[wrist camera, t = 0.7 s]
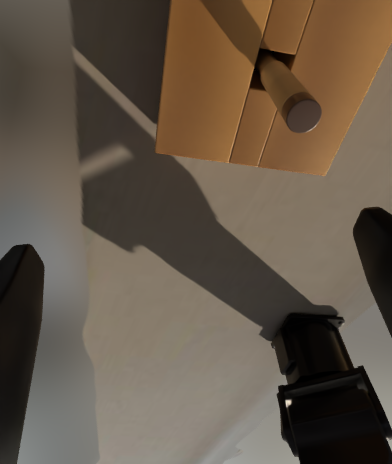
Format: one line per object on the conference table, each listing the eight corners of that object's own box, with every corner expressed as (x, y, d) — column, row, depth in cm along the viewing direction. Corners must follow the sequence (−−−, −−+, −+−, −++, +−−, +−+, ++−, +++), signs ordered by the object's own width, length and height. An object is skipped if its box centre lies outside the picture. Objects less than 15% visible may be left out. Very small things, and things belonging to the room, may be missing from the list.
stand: (391, -44, 16) (433, -40, 14) (308, 149, 23) (325, 176, 21) (180, -97, 15) (181, -104, 12) (156, 127, 22) (154, 153, 19)
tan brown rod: (272, 42, 19) (328, 102, 12) (265, 67, 20) (313, 135, 13) (250, 38, 19) (294, 96, 12) (244, 63, 19) (281, 131, 13)
